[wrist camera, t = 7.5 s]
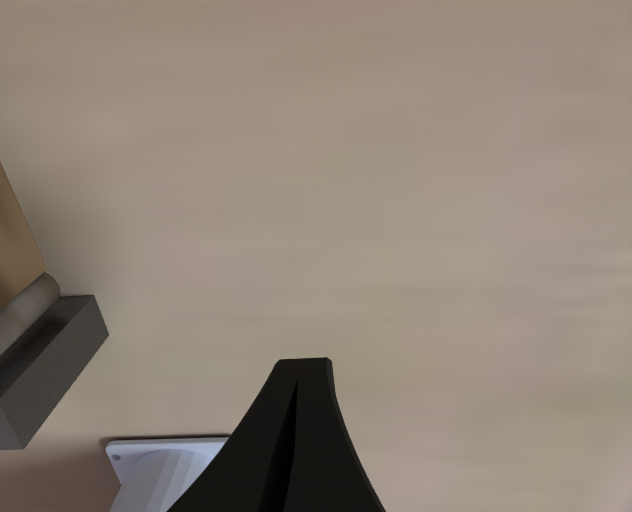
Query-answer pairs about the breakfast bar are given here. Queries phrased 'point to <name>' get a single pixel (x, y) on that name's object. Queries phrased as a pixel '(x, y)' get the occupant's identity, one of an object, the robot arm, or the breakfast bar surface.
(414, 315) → the breakfast bar surface
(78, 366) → the hinge post
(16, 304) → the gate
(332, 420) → the robot arm
